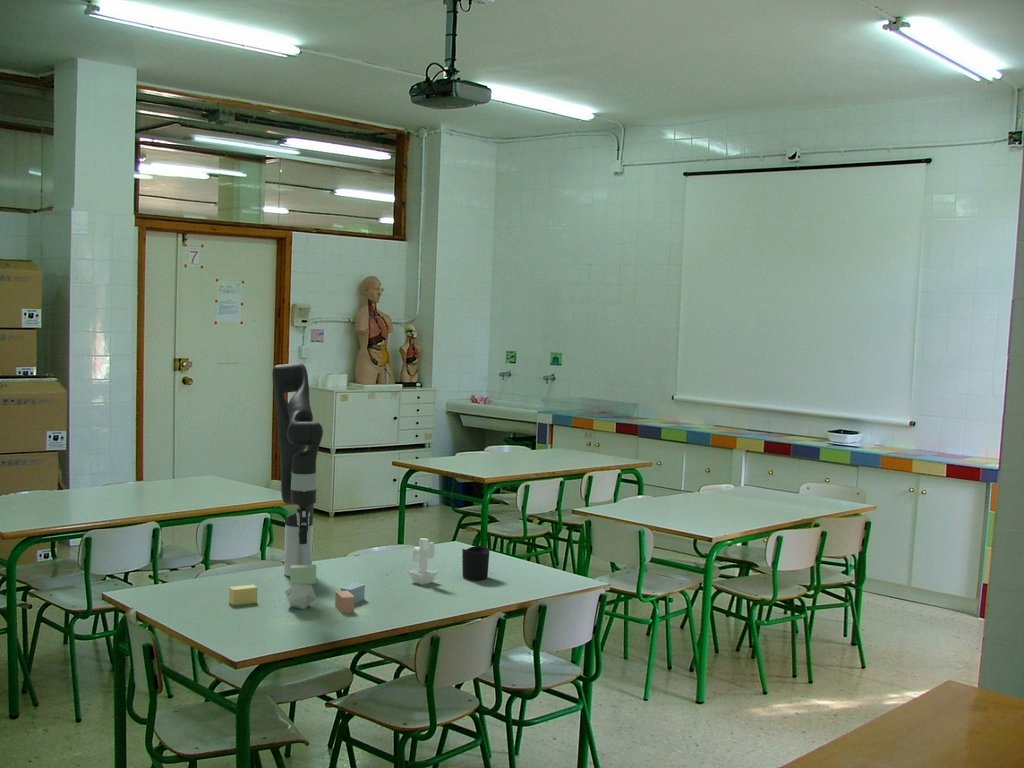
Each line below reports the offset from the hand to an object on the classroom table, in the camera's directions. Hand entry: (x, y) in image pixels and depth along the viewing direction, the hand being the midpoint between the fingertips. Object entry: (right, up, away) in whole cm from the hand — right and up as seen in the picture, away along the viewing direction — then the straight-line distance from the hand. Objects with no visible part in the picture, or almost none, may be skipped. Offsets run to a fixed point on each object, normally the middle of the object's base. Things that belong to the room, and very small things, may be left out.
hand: (302, 540), depth 302 cm
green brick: (0, -13, +1) cm, 13 cm away
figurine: (+33, -20, +36) cm, 53 cm away
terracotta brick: (+13, -21, 0) cm, 24 cm away
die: (-1, -20, +1) cm, 21 cm away
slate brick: (+14, -20, +10) cm, 26 cm away
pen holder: (+50, -20, +45) cm, 70 cm away
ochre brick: (-19, -20, +4) cm, 28 cm away
